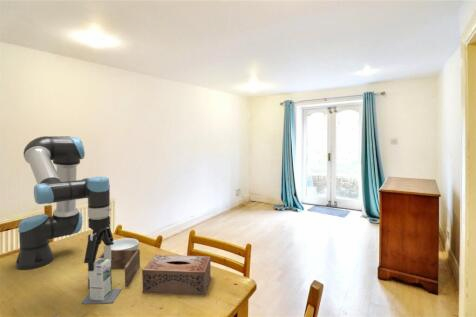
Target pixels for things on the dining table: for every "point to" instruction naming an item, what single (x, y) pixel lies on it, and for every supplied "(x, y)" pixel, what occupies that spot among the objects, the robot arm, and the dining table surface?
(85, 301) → the grey mat
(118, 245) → the cereal bowl
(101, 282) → the syrup box
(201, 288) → the tissue box cover
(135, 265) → the open-sided crate
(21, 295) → the dining table surface
